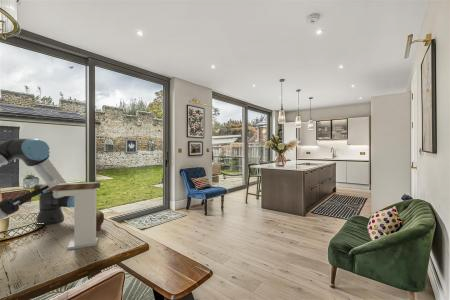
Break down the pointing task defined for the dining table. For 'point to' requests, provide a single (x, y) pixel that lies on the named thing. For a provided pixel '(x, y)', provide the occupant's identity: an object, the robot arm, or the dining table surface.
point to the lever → (71, 186)
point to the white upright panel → (83, 217)
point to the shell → (99, 219)
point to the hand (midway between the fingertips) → (56, 181)
